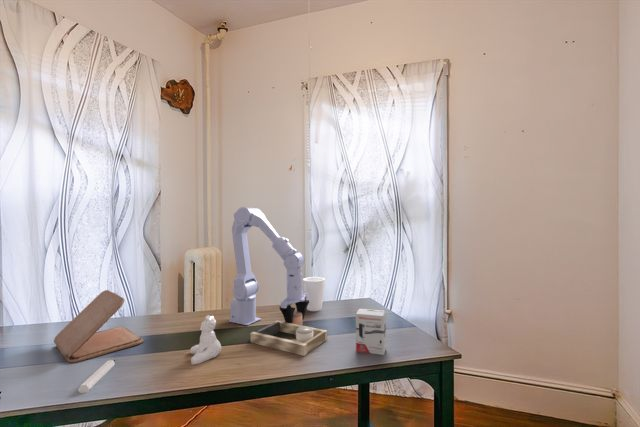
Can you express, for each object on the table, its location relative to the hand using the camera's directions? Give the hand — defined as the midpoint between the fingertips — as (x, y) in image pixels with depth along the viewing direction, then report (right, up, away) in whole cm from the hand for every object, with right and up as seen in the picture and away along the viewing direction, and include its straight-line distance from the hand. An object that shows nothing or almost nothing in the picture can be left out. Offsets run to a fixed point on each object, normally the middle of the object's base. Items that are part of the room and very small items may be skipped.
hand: (295, 322), depth 122 cm
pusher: (-9, -2, -8) cm, 13 cm away
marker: (-48, -3, -35) cm, 60 cm away
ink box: (+25, -2, -21) cm, 33 cm away
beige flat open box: (-1, -2, -13) cm, 13 cm away
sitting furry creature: (-24, -2, -24) cm, 34 cm away
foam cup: (+7, -1, +22) cm, 23 cm away
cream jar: (+4, -2, -16) cm, 17 cm away
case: (-62, -3, -15) cm, 64 cm away
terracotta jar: (0, -2, 0) cm, 2 cm away
